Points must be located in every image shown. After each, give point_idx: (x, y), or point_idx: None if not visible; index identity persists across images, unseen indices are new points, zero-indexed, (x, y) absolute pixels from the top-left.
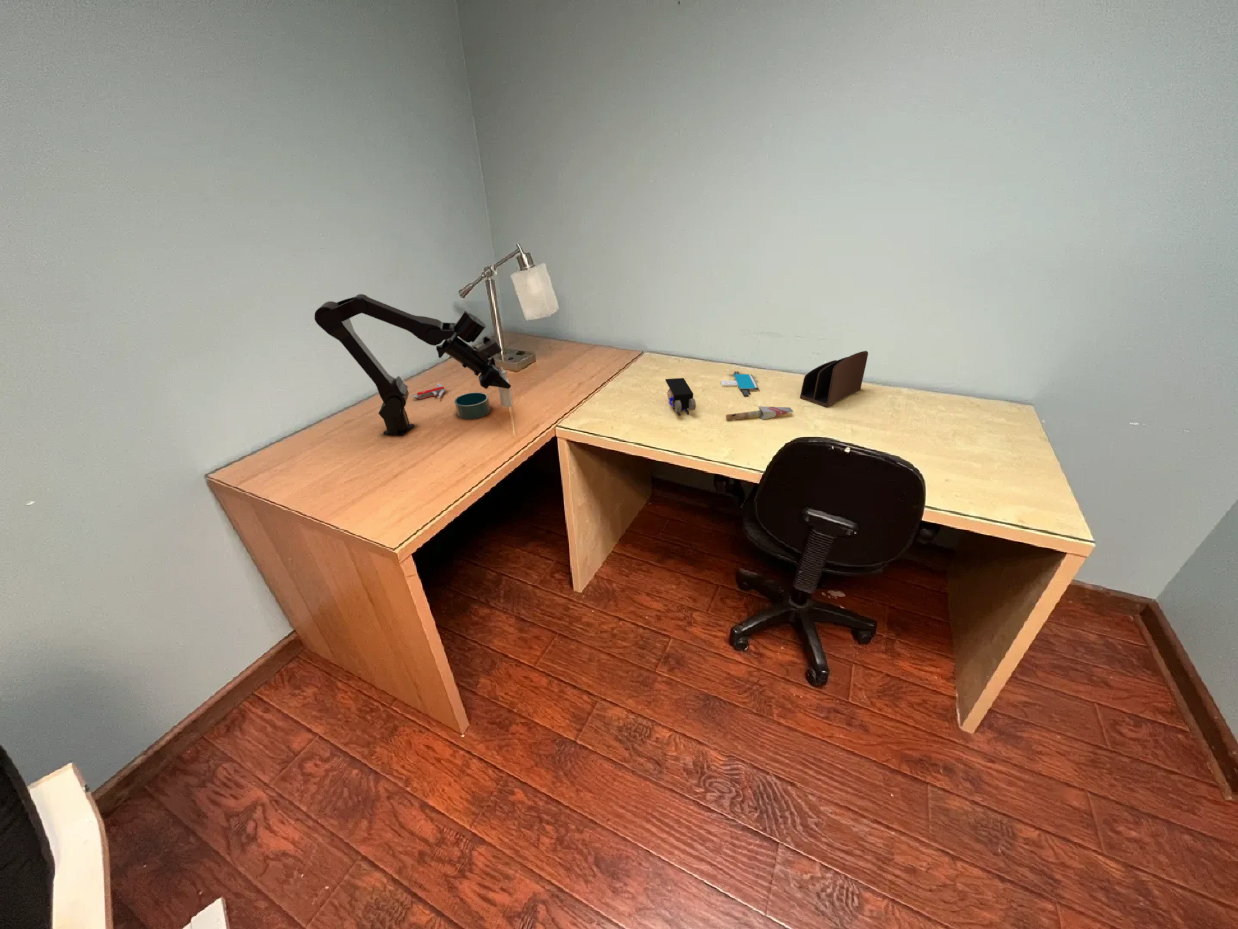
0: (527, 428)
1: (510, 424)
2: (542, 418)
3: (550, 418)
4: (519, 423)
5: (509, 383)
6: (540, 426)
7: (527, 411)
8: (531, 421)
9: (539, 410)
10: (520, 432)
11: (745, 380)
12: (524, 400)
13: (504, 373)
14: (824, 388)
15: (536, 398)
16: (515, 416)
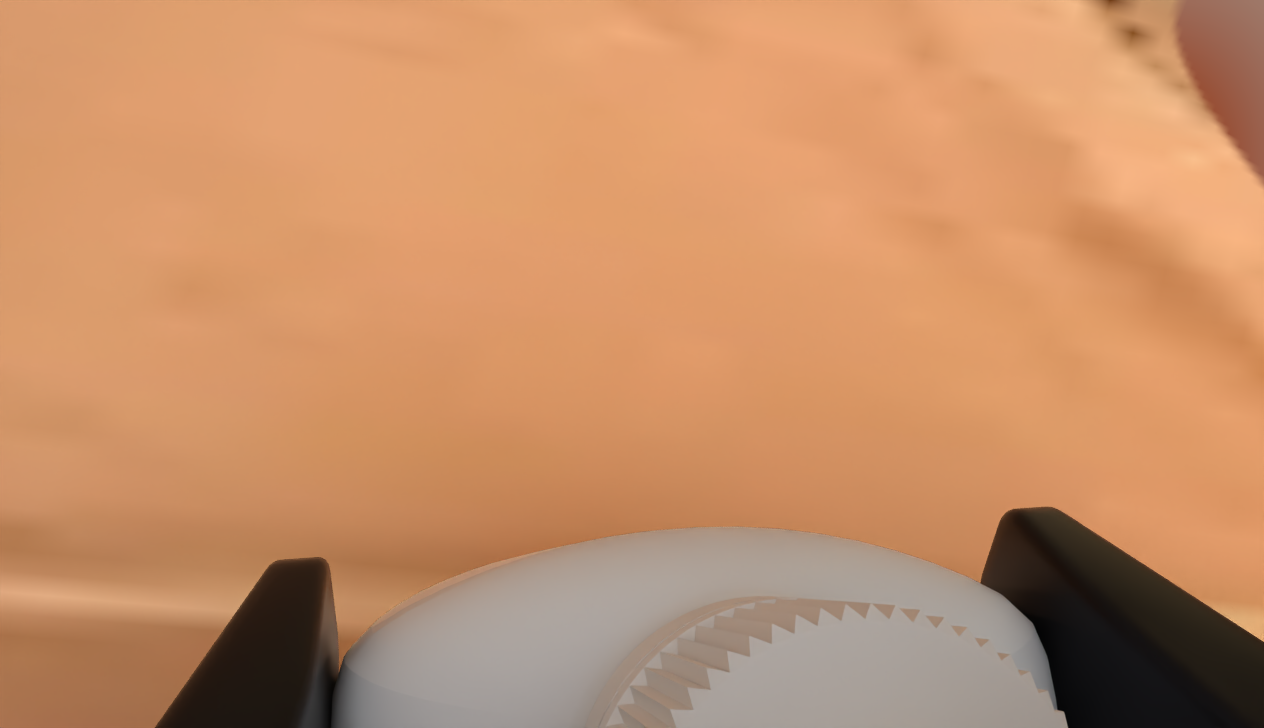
0: (1162, 405)
1: None
2: (899, 125)
3: (935, 13)
4: (966, 505)
5: (840, 538)
6: (1148, 207)
7: (556, 309)
8: (951, 307)
9: (591, 109)
10: (1260, 527)
11: None
12: (28, 285)
13: (1051, 719)
14: None
15: (37, 53)
16: None
